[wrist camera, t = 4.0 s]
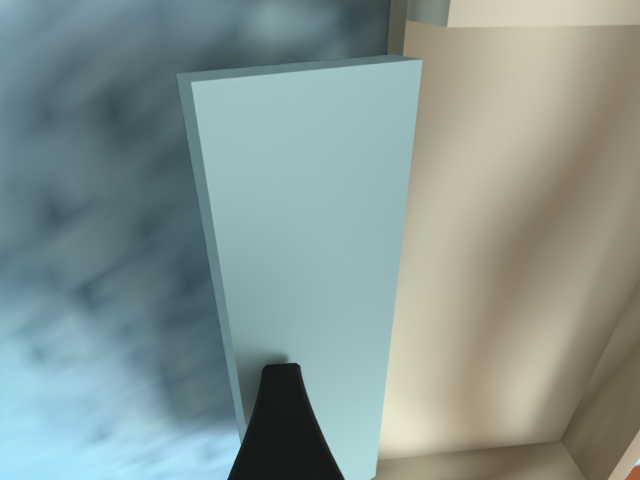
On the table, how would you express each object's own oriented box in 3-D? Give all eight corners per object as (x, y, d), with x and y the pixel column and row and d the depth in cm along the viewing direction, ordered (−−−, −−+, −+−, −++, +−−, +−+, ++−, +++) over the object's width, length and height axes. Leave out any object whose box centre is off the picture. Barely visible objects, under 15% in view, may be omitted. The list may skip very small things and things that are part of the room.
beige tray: (774, -68, 11) (1014, -96, 7) (547, 433, 21) (600, 516, 18) (395, -70, 10) (464, -105, 6) (358, 453, 20) (376, 545, 17)
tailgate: (423, 59, 9) (191, 81, 7) (375, 476, 17) (264, 546, 15) (393, 54, 10) (175, 73, 7) (361, 455, 18) (254, 520, 16)
